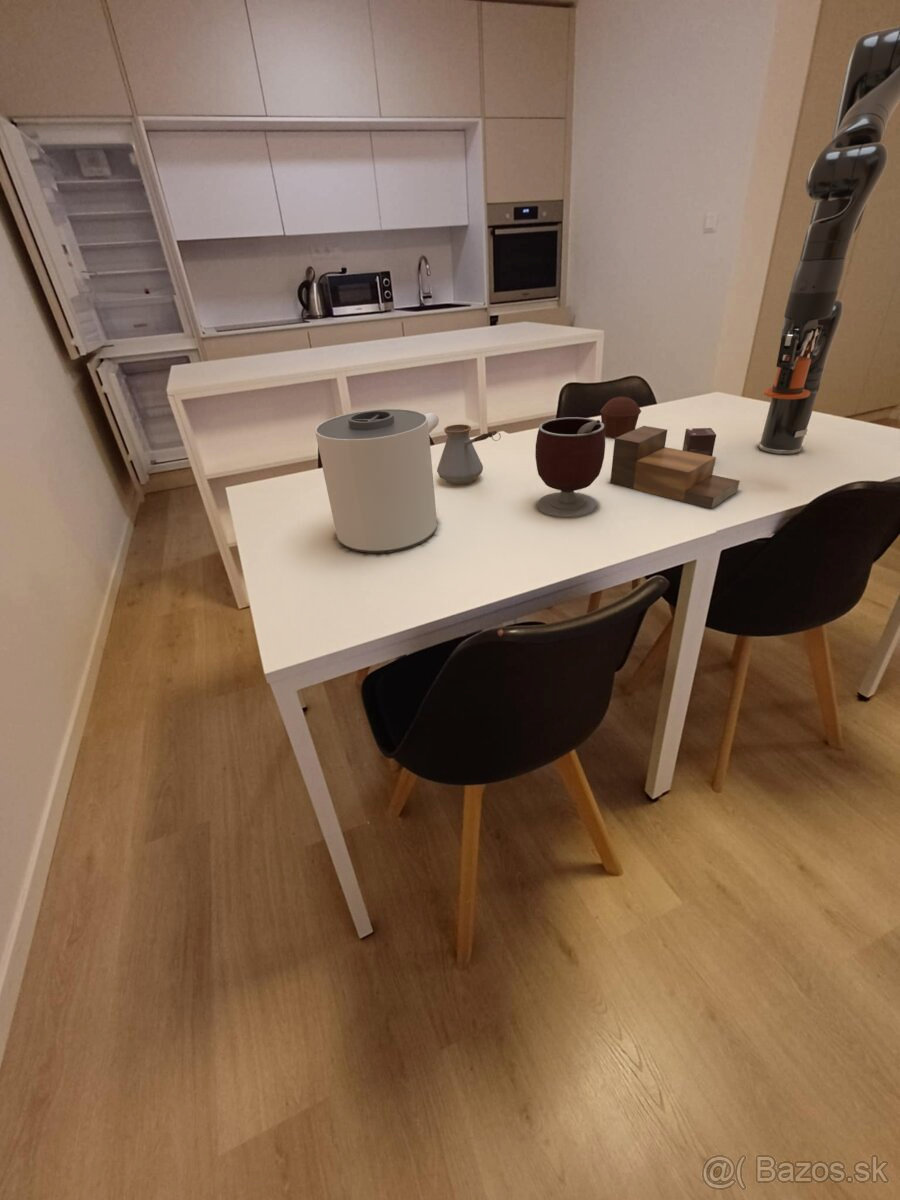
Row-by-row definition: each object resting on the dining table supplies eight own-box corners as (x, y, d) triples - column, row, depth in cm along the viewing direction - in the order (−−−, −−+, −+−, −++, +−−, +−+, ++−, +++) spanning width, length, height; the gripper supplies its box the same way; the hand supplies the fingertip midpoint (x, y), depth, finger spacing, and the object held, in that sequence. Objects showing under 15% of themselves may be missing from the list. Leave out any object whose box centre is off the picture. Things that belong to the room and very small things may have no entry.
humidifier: (362, 507, 121) (344, 402, 109) (449, 511, 116) (441, 401, 103) (319, 550, 104) (292, 432, 92) (419, 558, 99) (404, 433, 86)
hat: (772, 388, 110) (781, 354, 107) (815, 392, 105) (826, 356, 102) (756, 396, 106) (765, 360, 102) (800, 401, 101) (811, 364, 97)
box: (710, 465, 128) (717, 434, 124) (684, 465, 130) (689, 435, 126) (706, 456, 133) (711, 427, 129) (680, 456, 135) (685, 427, 131)
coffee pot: (429, 479, 134) (423, 419, 125) (466, 468, 138) (463, 409, 130) (478, 504, 118) (475, 437, 110) (518, 491, 123) (518, 426, 115)
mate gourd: (522, 501, 118) (523, 409, 107) (575, 488, 122) (580, 398, 111) (561, 527, 106) (566, 426, 95) (618, 512, 110) (629, 413, 99)
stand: (638, 468, 130) (643, 425, 124) (737, 491, 114) (749, 443, 108) (610, 482, 123) (614, 438, 118) (711, 509, 108) (722, 458, 102)
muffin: (596, 428, 160) (599, 394, 155) (634, 427, 158) (638, 392, 153) (600, 440, 150) (603, 404, 145) (641, 439, 149) (645, 402, 143)
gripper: (823, 292, 89) (794, 396, 99) (851, 284, 97) (822, 381, 106) (776, 293, 94) (753, 392, 103) (806, 285, 102) (782, 378, 111)
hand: (788, 386), depth 105 cm, fingers closed on hat, 5 cm apart
